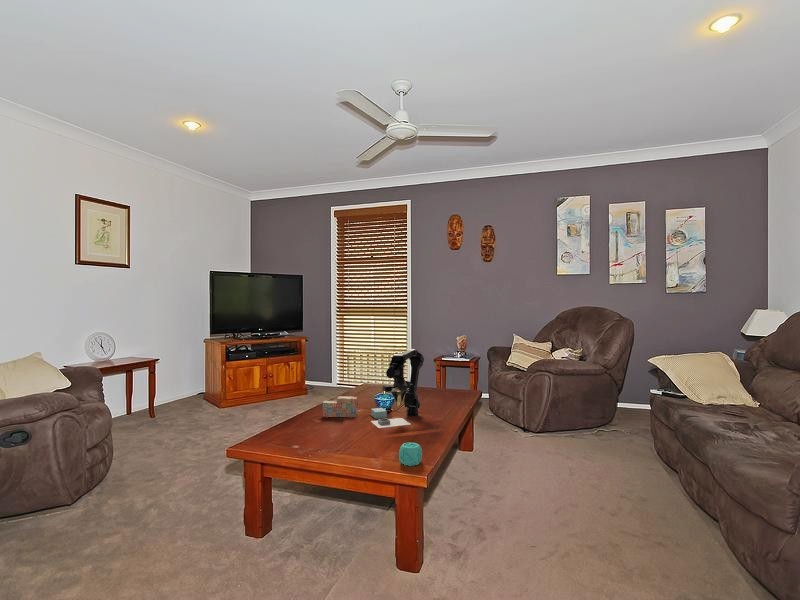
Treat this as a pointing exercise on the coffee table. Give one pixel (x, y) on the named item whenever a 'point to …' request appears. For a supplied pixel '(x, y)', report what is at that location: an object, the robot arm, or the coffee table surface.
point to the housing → (379, 413)
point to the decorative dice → (410, 454)
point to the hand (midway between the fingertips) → (398, 402)
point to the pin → (398, 398)
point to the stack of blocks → (341, 407)
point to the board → (390, 422)
